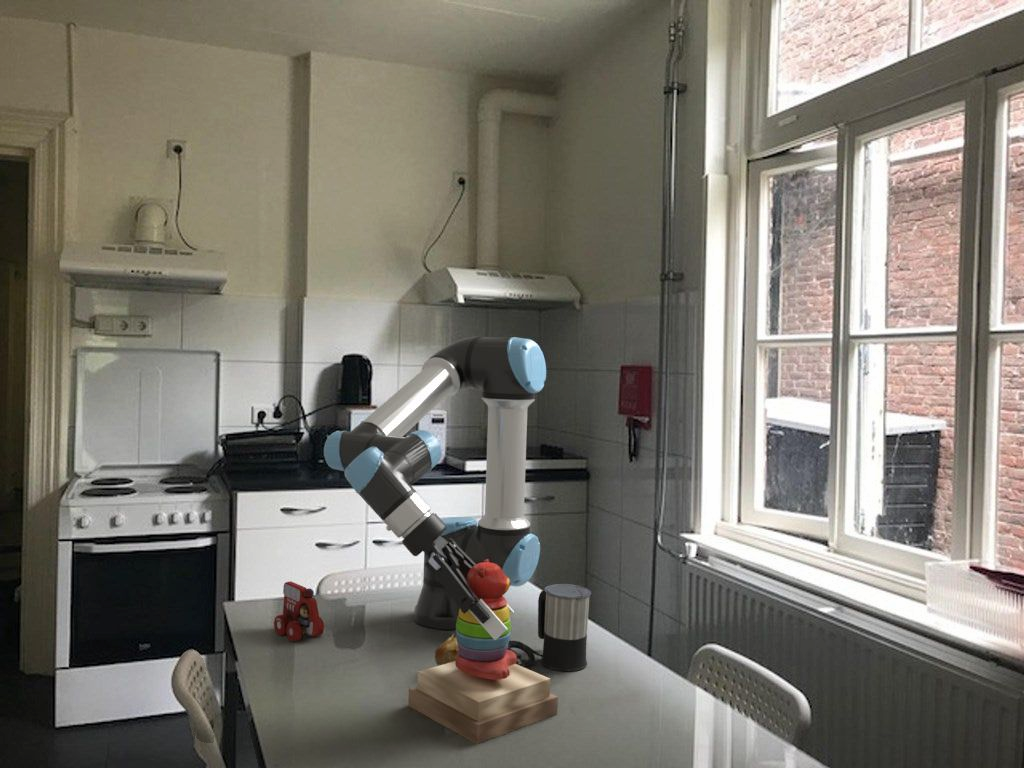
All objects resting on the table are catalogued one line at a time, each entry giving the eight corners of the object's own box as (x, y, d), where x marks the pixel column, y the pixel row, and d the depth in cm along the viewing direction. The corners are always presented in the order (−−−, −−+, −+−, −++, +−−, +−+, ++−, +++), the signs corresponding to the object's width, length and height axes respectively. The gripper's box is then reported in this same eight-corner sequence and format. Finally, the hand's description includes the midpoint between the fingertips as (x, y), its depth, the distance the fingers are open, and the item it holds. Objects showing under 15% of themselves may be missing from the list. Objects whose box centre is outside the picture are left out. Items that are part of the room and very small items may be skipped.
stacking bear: (506, 681, 135) (511, 573, 134) (446, 674, 137) (451, 567, 136) (519, 659, 145) (523, 558, 145) (463, 652, 147) (467, 552, 147)
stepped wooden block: (487, 681, 154) (488, 649, 154) (557, 714, 141) (558, 679, 141) (408, 705, 142) (409, 671, 142) (476, 744, 129) (478, 706, 128)
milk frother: (597, 665, 165) (600, 591, 165) (544, 684, 154) (547, 605, 153) (544, 645, 175) (547, 576, 175) (490, 663, 164) (493, 588, 163)
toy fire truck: (300, 646, 168) (302, 595, 168) (269, 630, 177) (271, 582, 177) (329, 639, 173) (331, 590, 173) (298, 624, 182) (300, 577, 182)
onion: (428, 667, 160) (430, 626, 160) (468, 663, 163) (469, 623, 163) (440, 682, 153) (442, 639, 153) (481, 677, 156) (483, 635, 156)
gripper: (415, 527, 153) (497, 620, 152) (383, 553, 132) (478, 662, 130) (444, 500, 152) (527, 593, 151) (417, 522, 131) (513, 631, 130)
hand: (504, 625), depth 141 cm, fingers closed on stacking bear, 9 cm apart
